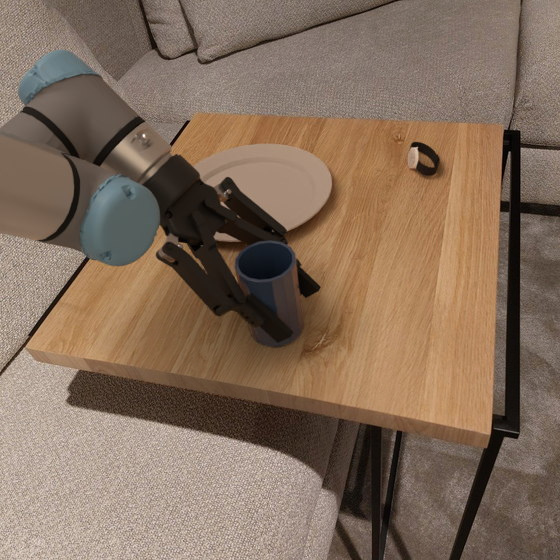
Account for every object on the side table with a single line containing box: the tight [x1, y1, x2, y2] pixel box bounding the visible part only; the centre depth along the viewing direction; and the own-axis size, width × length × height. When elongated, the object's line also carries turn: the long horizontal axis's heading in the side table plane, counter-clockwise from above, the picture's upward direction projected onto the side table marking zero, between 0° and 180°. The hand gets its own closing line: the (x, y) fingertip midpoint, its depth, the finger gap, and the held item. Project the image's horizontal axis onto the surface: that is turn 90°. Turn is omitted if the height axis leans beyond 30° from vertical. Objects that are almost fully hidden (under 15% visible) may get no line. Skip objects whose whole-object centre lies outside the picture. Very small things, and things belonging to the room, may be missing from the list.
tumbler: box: [234, 240, 305, 348], centre depth 69 cm, size 7×7×11 cm
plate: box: [192, 143, 333, 243], centre depth 92 cm, size 26×26×2 cm
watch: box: [407, 141, 441, 177], centre depth 92 cm, size 8×5×4 cm, turn 7°
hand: (299, 314), depth 69 cm, fingers closed on tumbler, 7 cm apart
